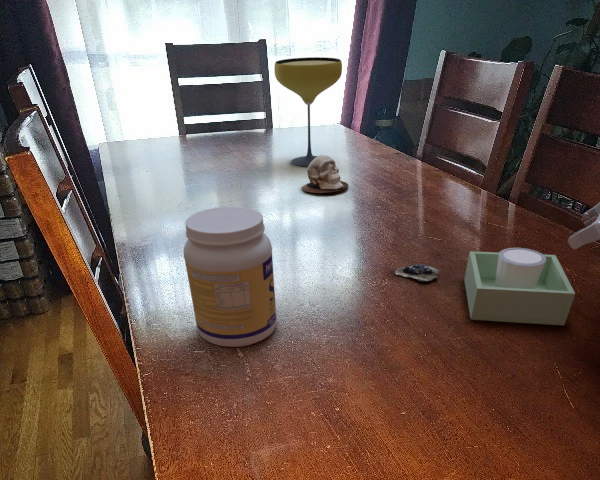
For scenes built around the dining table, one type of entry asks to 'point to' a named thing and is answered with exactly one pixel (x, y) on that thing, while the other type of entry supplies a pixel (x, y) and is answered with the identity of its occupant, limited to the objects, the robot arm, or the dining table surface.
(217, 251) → the supplement tub
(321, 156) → the skull
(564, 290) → the bin
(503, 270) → the white cylinder
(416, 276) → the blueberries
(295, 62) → the cocktail glass
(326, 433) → the dining table surface
